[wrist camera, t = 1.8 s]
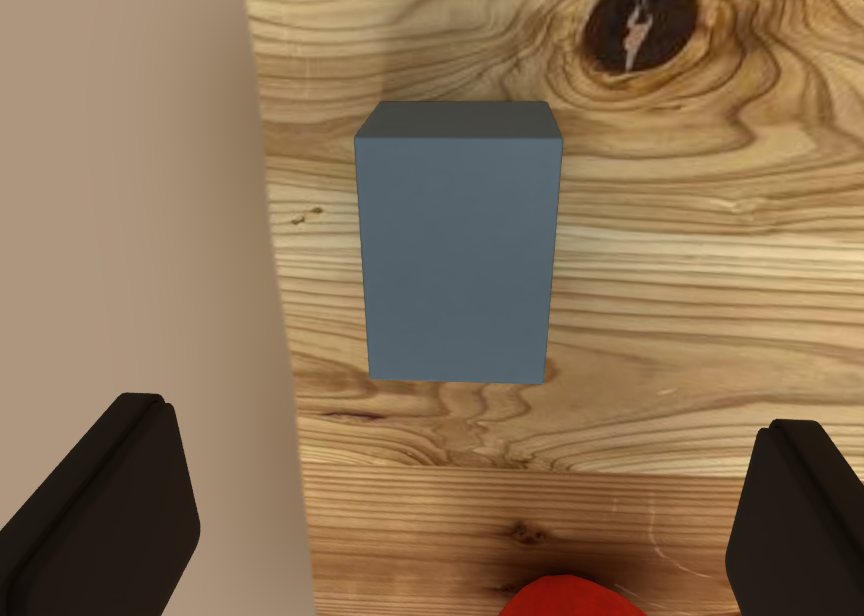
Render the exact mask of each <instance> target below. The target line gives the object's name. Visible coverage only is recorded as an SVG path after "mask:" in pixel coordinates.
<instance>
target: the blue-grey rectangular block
mask: <svg viewBox="0 0 864 616" xmlns="http://www.w3.org/2000/svg"><path fill="white" fill-rule="evenodd" d="M354 146H355V162H356V177H357V193H358V208H359V223H360V239H361V254H362V270H363V285H364V300H365V316H366V331H367V347H368V362H369V377H370V379H378V380H411V381H444V382H476V383H509V384H543V383H544V377H545V364H546V351H547V339H548V326H549V314H550V301H551V289H552V276H553V263H554V251H555V238H556V226H557V213H558V200H559V188H560V175H561V163H562V150H563V137H562V135H561V133H560V130H559V128H558V126H557V123H556V121H555V119H554V116H553V114H552V112H551V109H550V107H549V105H548V103H547V102H385V101H382V102H380V103H379V104H378V106H377V107H376V108H375V110H374V111H373V112H372V114H371V115H370V116H369V118H368V119H367V120H366V122H365V123H364V124H363V126H362V127H361V128H360V130H359V131H358V133H357V134H356V135H355V137H354Z"/></svg>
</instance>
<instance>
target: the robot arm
mask: <svg viewBox="0 0 864 616" xmlns="http://www.w3.org/2000/svg"><path fill="white" fill-rule="evenodd" d="M199 537H200V520H199V516H198V512H197V507H196V503H195V498H194V494H193V489H192V485H191V480H190V476H189V472H188V467H187V463H186V458H185V454H184V449H183V445H182V440H181V436H180V432H179V427H178V423H177V418H176V414H175V410H174V407H173V406H172V405H171V404H170V403H165V401H164V399H163V397H162V396H161V395H159V394H150V393H122V394H121V395H120V396H118V397H117V399H116V400H115V401H114V402H113V403H112V404H111V405H110V406H109V408H108V409H107V410H106V411H105V412H104V413H103V414H102V416H101V417H100V418H99V419H98V420H97V421H96V423H95V424H94V425H93V426H92V427H91V428H90V429H89V430H88V432H87V433H86V434H85V435H84V436H83V437H82V439H81V440H80V441H79V442H78V443H77V444H76V445H75V447H74V448H73V449H72V450H71V451H70V452H69V453H68V454H67V456H66V457H65V458H64V459H63V460H62V461H61V462H60V463H59V465H58V466H57V467H56V468H55V469H54V470H53V472H52V473H51V474H50V475H49V476H48V477H47V478H46V480H45V481H44V482H43V483H42V484H41V485H40V486H39V487H38V489H37V490H36V491H35V492H34V493H33V494H32V496H31V497H30V498H29V499H28V500H27V501H26V502H25V503H24V505H23V506H22V507H21V508H20V509H19V510H18V511H17V513H16V514H15V515H14V516H13V517H12V518H11V519H10V521H9V522H8V523H7V524H6V525H5V526H4V527H3V528H2V530H1V531H0V616H161V615H162V613H163V611H164V609H165V607H166V605H167V603H168V601H169V599H170V597H171V595H172V593H173V591H174V589H175V588H176V586H177V583H178V582H179V579H180V578H181V576H182V574H183V572H184V570H185V568H186V566H187V564H188V562H189V560H190V558H191V556H192V554H193V553H194V551H195V549H196V546H197V544H198V541H199ZM725 564H726V572H727V576H728V579H729V582H730V585H731V587H732V590H733V592H734V595H735V598H736V600H737V603H738V605H739V608H740V611H741V613H742V616H864V485H863V484H862V482H861V481H860V480H859V478H858V477H857V475H856V474H855V473H854V471H853V470H852V468H851V467H850V465H849V464H848V463H847V461H846V460H845V458H844V457H843V456H842V454H841V453H840V451H839V450H838V449H837V447H836V446H835V444H834V443H833V442H832V440H831V439H830V437H829V436H828V435H827V433H826V432H825V430H824V429H823V428H822V426H821V425H820V424H819V423H818V422H816V421H813V420H791V419H775V420H773V421H772V422H771V424H770V426H769V428H761V429H760V430H759V431H758V433H757V436H756V440H755V444H754V448H753V451H752V455H751V459H750V463H749V467H748V471H747V474H746V478H745V482H744V486H743V490H742V493H741V497H740V501H739V505H738V509H737V512H736V516H735V520H734V524H733V528H732V532H731V535H730V539H729V543H728V547H727V551H726V556H725Z"/></svg>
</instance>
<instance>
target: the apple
mask: <svg viewBox="0 0 864 616" xmlns="http://www.w3.org/2000/svg"><path fill="white" fill-rule="evenodd" d="M498 616H647V615H646V614H645V613H644V612H643V611H642V610H640V609H639V608H638V607H636V606H635V605H634V604H632V603H631V602H630V601H628V600H627V599H626V598H624V597H623V596H621V595H620V594H618V593H616V592H614V591H612V590H610V589H608V588H605V587H603V586H601V585H599V584H597V583H594V582H592V581H589V580H586V579H583V578H580V577H577V576H574V575H571V574H565V575H550V576H543V577H541V578H539V579H537V580H536V581H534V582H532V583H530V584H528V585H527V586H525V587H523V588H522V589H521V590H520V591H519V592H518V593H517V594H516V595H515V596H514V597H513V598H512V599H511V600H510V601H509V602H508V603H507V605H506V606H505V607H504V609H503V610H502V611H501V612H500V614H499V615H498Z"/></svg>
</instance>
